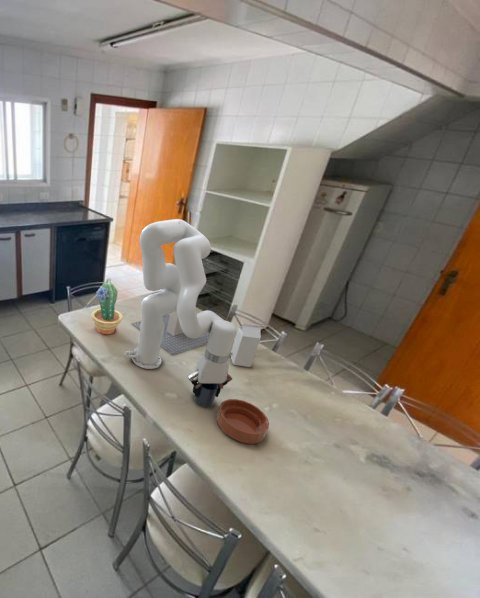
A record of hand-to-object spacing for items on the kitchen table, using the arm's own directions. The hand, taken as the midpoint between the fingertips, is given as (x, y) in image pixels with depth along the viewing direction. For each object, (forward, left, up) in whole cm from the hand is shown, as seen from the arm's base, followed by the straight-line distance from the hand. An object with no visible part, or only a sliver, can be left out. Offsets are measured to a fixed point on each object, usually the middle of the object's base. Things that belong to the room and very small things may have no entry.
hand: (205, 394), depth 120 cm
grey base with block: (+6, +49, -3) cm, 49 cm away
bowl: (+8, -12, -3) cm, 15 cm away
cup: (0, 0, -3) cm, 3 cm away
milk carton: (+26, +24, -3) cm, 36 cm away
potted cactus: (-31, +49, -3) cm, 58 cm away
